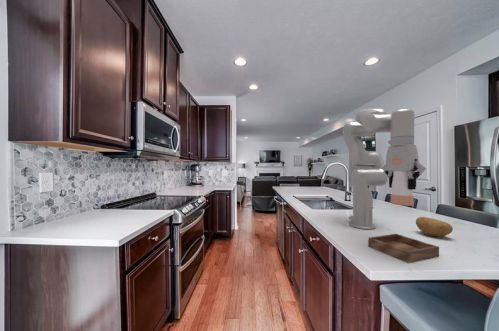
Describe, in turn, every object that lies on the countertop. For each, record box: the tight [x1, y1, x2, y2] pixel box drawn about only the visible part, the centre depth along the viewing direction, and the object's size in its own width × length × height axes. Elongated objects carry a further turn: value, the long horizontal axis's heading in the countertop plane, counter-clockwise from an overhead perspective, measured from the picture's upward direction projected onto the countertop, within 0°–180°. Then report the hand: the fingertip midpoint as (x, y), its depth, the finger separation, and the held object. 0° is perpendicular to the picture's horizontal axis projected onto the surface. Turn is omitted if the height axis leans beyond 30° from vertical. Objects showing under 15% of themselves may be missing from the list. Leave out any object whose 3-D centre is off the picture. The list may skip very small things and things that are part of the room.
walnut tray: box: [367, 233, 440, 264], centre depth 83 cm, size 16×16×4 cm
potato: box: [415, 216, 454, 238], centre depth 102 cm, size 10×14×8 cm
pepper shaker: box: [390, 158, 415, 207], centre depth 83 cm, size 7×7×19 cm
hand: (401, 188), depth 83 cm, fingers closed on pepper shaker, 6 cm apart
